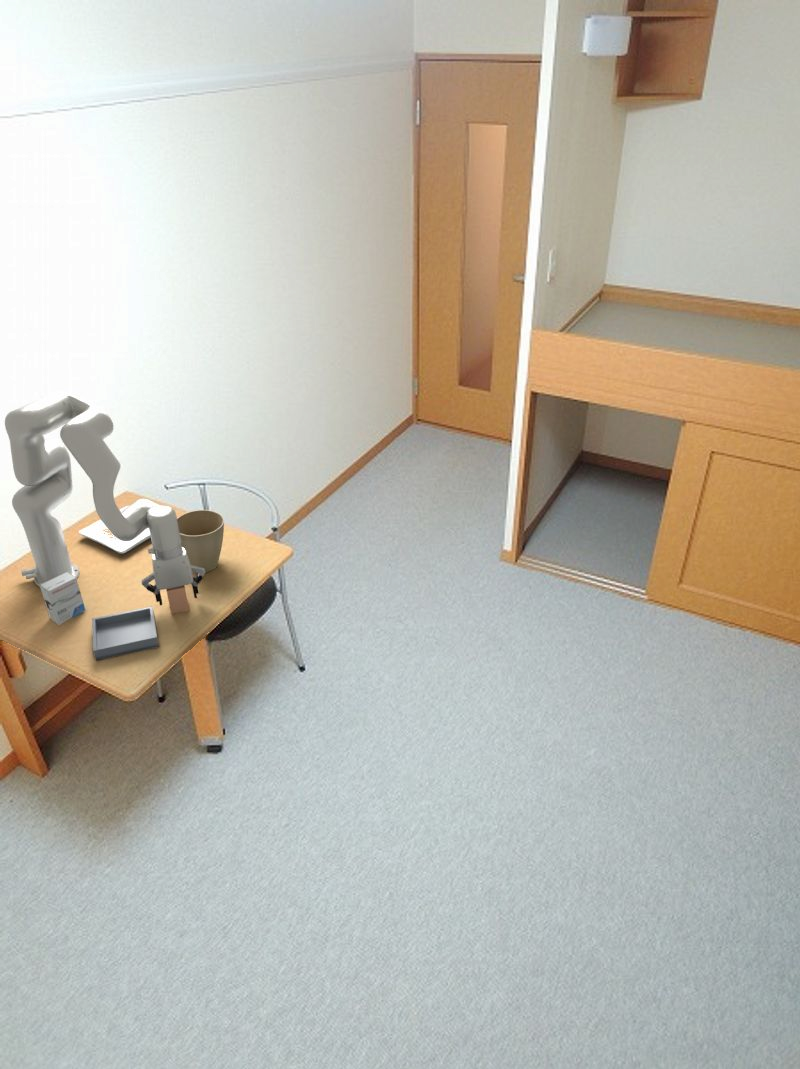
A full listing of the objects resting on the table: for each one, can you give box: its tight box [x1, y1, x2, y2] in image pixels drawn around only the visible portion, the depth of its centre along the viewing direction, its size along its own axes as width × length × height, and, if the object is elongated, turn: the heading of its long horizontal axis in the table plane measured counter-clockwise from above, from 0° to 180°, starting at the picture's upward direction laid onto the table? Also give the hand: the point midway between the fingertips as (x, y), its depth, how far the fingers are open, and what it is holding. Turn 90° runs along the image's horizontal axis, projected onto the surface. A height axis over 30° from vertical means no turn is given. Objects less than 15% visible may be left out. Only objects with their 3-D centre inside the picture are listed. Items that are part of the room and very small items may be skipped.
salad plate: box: [78, 505, 151, 554], centre depth 247 cm, size 21×21×3 cm
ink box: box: [39, 572, 86, 625], centre depth 209 cm, size 8×5×12 cm, turn 141°
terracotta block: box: [165, 585, 190, 614], centre depth 213 cm, size 5×5×8 cm
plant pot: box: [177, 509, 225, 573], centre depth 228 cm, size 15×15×16 cm
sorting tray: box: [91, 605, 160, 661], centre depth 203 cm, size 16×14×4 cm
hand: (178, 599), depth 214 cm, fingers open, 9 cm apart
